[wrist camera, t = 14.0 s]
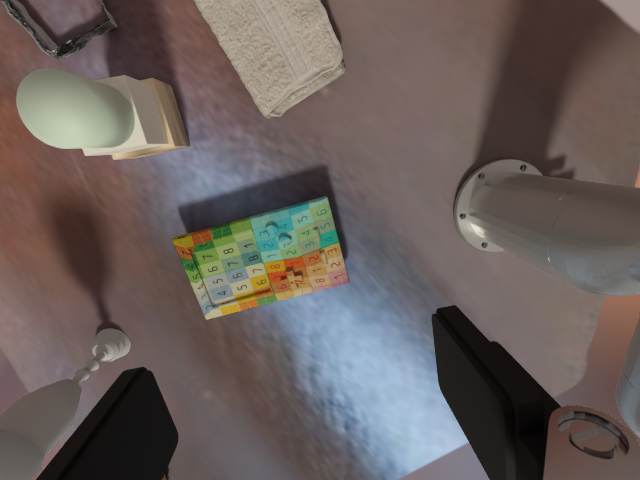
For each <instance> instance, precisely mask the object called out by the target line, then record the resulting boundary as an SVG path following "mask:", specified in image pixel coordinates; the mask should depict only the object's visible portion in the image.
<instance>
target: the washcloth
mask: <svg viewBox="0 0 640 480" xmlns="http://www.w3.org/2000/svg"><path fill="white" fill-rule="evenodd" d="M193 1H194V2H195V3H196V6H197V8H198V9H199V10H200V12H201V14H202V16H203V17H204V19H205V20H206V22H207V23H208V24H209V25H210V27H211V30H212V31H213V33H214V34H215V35H216V37H217V39H218V42H219V45H220V46H221V47H222V49H223V50H224V51H225V53H226V54H227V57H228V58H229V59H230V60H231V64H232V65H233V66H234V68H235V69H236V71H237V72H238V74H239V76H240V78H241V80H242V81H243V83H244V84H245V87H246V88H247V90H248V91H249V93H250V94H251V96H252V99H253V100H254V102H255V104H256V105H257V106H258V108H259V110H260V111H261V113H262V114H263V115H264V116H265V117H267V118H268V119H269V118H271V117H272V116H276V117H279V116H282V114H283V113H284V112H285V111H286V110H288V109H289V108H291V107H292V106H294V105H295V104H297V103H299V102H300V101H301V100H303V99H304V98H306V97H307V96H309V95H311V94H312V93H314V92H316V91H317V90H319V89H320V88H322V87H323V86H325V85H327V84H329V83H330V82H332V81H333V80H335V79H336V78H338V77H339V76H340V75H342V74H343V73H344V72H346V69H345V67H344V63H343V62H342V58H343V53H342V49H341V45H340V43H339V41H338V39H337V37H336V35H335V33H334V31H333V28H332V25H331V23H330V21H329V18H328V14H327V12H326V9H325V8H324V6H323V4H322V3H321V1H320V0H193Z"/></svg>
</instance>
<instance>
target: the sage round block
mask: <svg viewBox="0 0 640 480" xmlns="http://www.w3.org/2000/svg"><path fill="white" fill-rule="evenodd" d="M16 101H17V109H18V112H19V115H20V117H21V119H22V121H23V123H24V124H25V126H26V127H27V129H28V130H29V131H30V132H31V133H32V134H33V135H34V136H35V137H37V138H38V139H39V140H41V141H43V142H44V143H46V144H48V145H51V146H54V147H57V148H64V149H73V148H111V147H117V146H120V145H122V144H123V143H125V142H126V141H127V140H128V139H129V138H130V137H131V135H132V133H133V131H134V126H135V117H134V112H133V109H132V107H131V105H130V103H129V102H128V100H127V99H126V98H125V97H124V96H123V94H121V93H120V92H119V91H118V90H116V89H115V88H113V87H111V86H108V85H105V84H102V83H99V82H96V81H93V80H90V79H87V78H83V77H80V76H77V75H74V74H71V73H68V72H65V71H62V70H58V69H52V68H44V69H39V70H36V71H33V72H31V73H30V74H28V75H27V76H26V77H25V78H24V79H23V80H22V82H21V83H20V85H19V87H18V91H17V97H16Z"/></svg>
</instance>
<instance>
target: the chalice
mask: <svg viewBox="0 0 640 480" xmlns="http://www.w3.org/2000/svg"><path fill="white" fill-rule="evenodd" d="M130 347H131V344H130V340H129V338H128V336H127V335H126V334H124V333H123V332H122V331H120V330H117V329H113V328H108V329H104V330H101V331H100V332H99V333H98V334H97V335H96V337H95V341H94V344H93V346H92V351H93V355H94V356H95V357H94V358H93V359H92V360H87V361H86V362H85V367H84V368H83V369H82V370H78V371H77V372H76V375H75V377H74V379H73V380H69V379H65V380H61V381H58V382H56V383H53V384H50V385H48V386H45V387H42V388H40V389H38V390H36V391H34V392H32V393H30V394H28V395H26V396H24V397H22V398H21V399H19V400H18V401H16V402H15V403H14V404H13V405H12V406H11V407H9V408H8V409H7V410H6V411H5V412H4V413H3V414H2V415H0V480H31V479H32V478H34V477H36V476H37V474H38V473H39V472H40V470H41V469H42V465H43V461H44V458H45V456H46V455H47V454H48V453H49V452H50V450H51V449H52V448H53V447H54V446H55V444H56V443H57V442H58V441H59V440H60V438H61V437H62V436H63V435H64V434H65V432H66V431H67V430H68V429H69V427H70V426H71V425H72V422H73V419H74V417H75V414H76V412H77V408H78V404H79V399H80V395H81V386H80V385H79V383H80V382H81V381H83V380H86V379H88V378H89V373H90V371H92V370H97V369H98V368H99V362H100V361H103V362H110V361H113V360H115V359H118V358H120V357H122V356H124V355H126V354H127V353H128V352H129V350H130Z"/></svg>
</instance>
